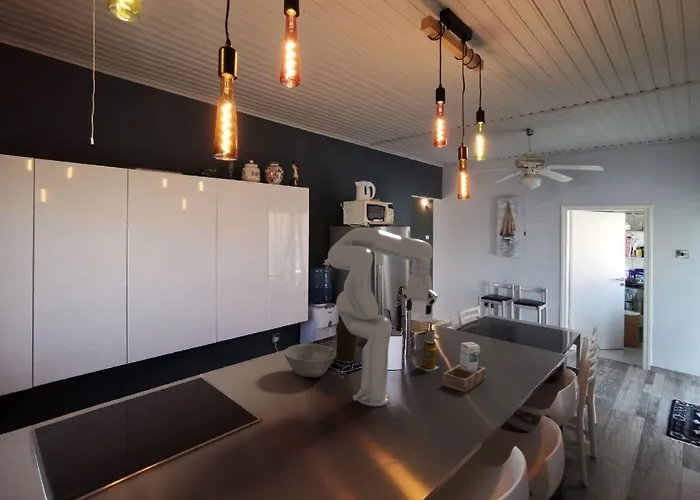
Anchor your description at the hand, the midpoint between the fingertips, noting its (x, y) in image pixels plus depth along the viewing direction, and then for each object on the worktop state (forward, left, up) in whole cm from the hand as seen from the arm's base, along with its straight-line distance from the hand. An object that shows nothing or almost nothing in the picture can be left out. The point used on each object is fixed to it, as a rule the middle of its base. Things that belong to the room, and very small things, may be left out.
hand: (418, 312), depth 161 cm
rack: (+11, -17, -28) cm, 35 cm away
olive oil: (-6, +35, -29) cm, 46 cm away
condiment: (+15, +3, -29) cm, 33 cm away
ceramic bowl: (-30, +34, -29) cm, 54 cm away
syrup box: (+15, -17, -28) cm, 36 cm away
